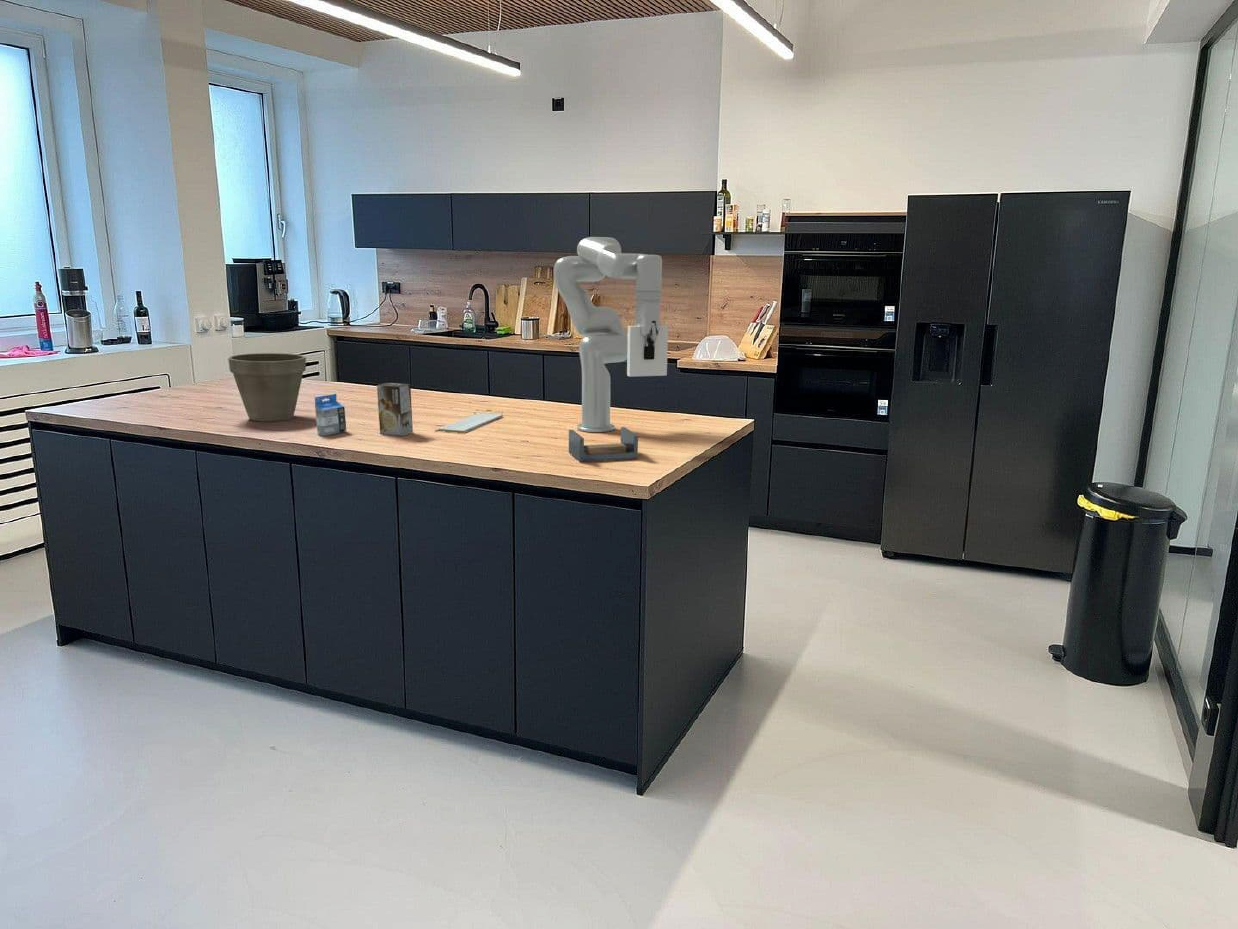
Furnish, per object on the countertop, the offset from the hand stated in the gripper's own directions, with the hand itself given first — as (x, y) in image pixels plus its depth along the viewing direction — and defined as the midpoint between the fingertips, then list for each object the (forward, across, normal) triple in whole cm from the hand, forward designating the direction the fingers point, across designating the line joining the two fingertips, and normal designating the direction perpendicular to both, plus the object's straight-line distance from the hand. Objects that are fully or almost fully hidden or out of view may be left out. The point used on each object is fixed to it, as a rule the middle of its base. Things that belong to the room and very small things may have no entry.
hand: (647, 358), depth 263 cm
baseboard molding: (+28, -48, -48) cm, 73 cm away
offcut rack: (+27, +11, -17) cm, 34 cm away
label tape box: (+27, -42, -93) cm, 106 cm away
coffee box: (+27, -37, -73) cm, 86 cm away
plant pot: (+28, -74, -113) cm, 138 cm away
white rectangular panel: (+5, 0, 0) cm, 5 cm away
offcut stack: (+27, +13, -18) cm, 35 cm away
